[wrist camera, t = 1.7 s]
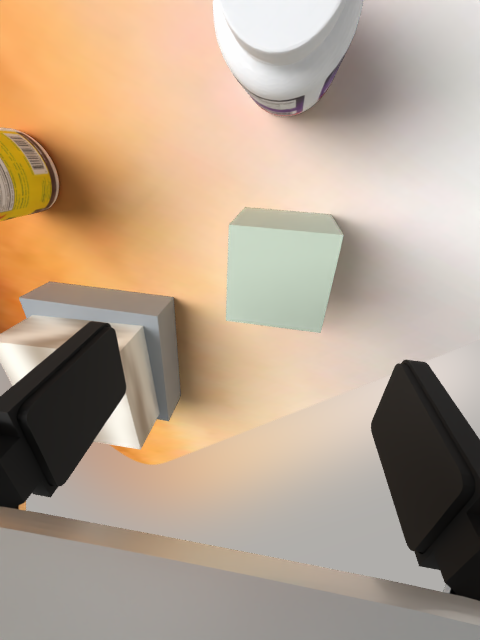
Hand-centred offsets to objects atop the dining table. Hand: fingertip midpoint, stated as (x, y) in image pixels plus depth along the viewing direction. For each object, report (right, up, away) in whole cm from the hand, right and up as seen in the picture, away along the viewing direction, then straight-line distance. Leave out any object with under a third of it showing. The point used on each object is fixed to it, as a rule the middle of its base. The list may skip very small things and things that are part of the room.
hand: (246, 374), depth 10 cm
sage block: (+3, +7, +12) cm, 14 cm away
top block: (-13, -2, +16) cm, 21 cm away
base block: (-12, 0, +20) cm, 23 cm away
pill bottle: (+3, +17, +6) cm, 18 cm away
